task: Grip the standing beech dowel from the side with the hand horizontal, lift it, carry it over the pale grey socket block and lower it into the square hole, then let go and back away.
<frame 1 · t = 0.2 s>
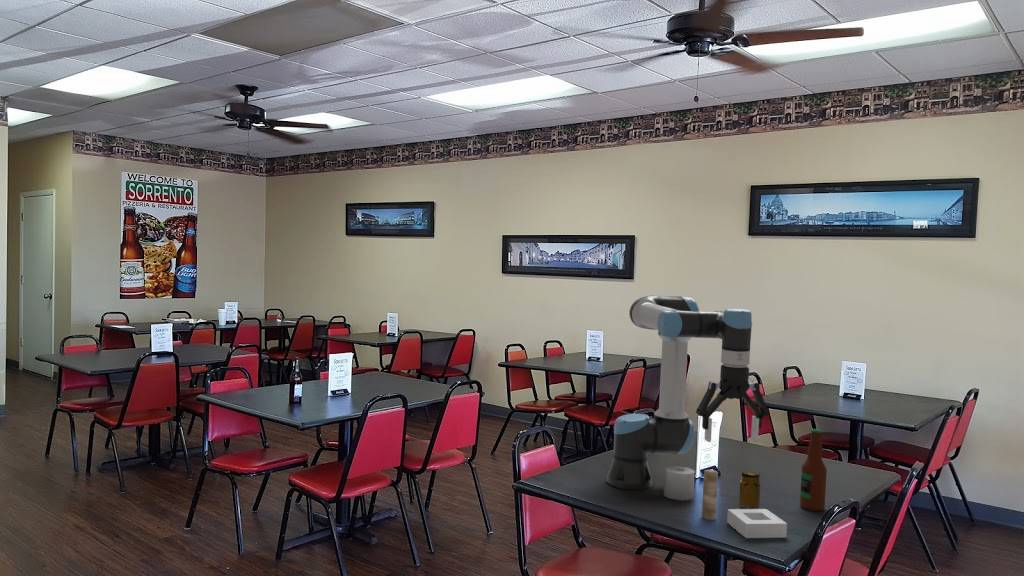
hand: (731, 440, 201), 27 cm above the table, tool pointing down, fingers open, 13 cm apart
dowel: (708, 518, 216), on the table
condiment: (751, 512, 224), on the table
toilet tissue: (678, 495, 238), on the table
bottle: (812, 508, 230), on the table
socket: (755, 529, 208), on the table
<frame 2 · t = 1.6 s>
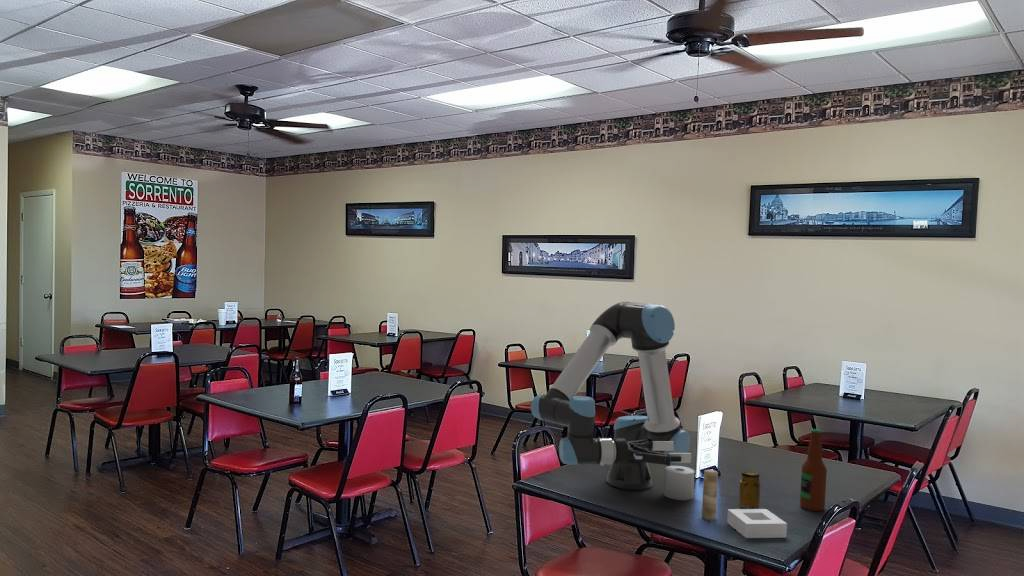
hand: (681, 451, 214), 20 cm above the table, tool horizontal, fingers open, 13 cm apart
nothing on the table moved.
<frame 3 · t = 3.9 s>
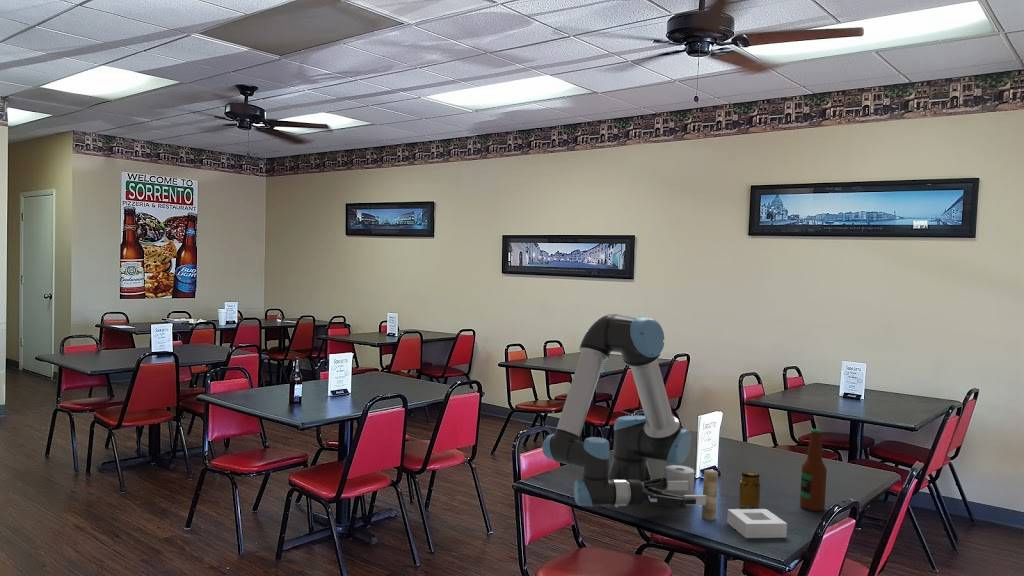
hand: (696, 492, 215), 8 cm above the table, tool horizontal, fingers open, 13 cm apart
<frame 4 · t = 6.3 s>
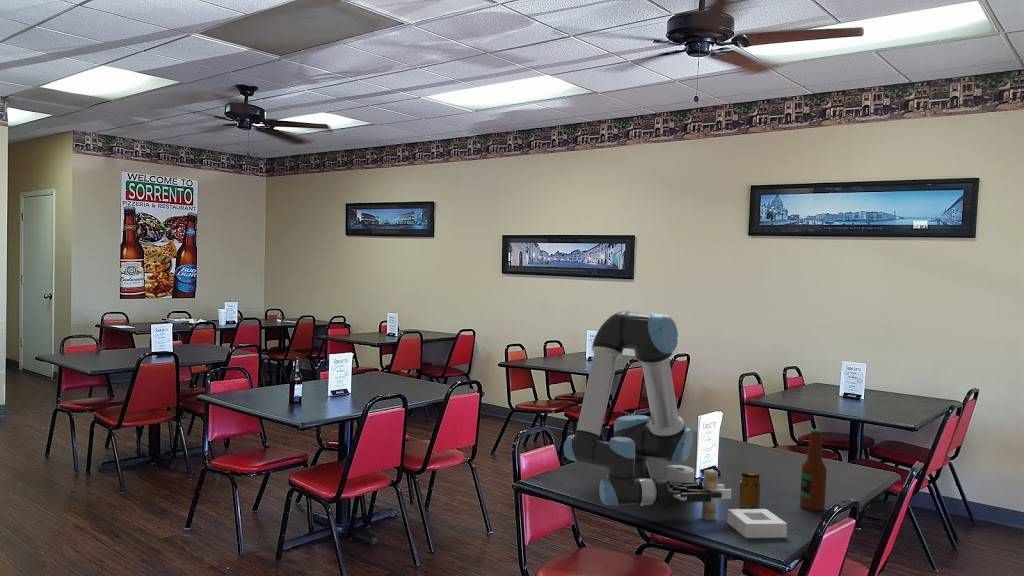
hand: (726, 491, 217), 8 cm above the table, tool horizontal, fingers closed on dowel, 4 cm apart
dowel: (708, 518, 216), on the table, touching gripper
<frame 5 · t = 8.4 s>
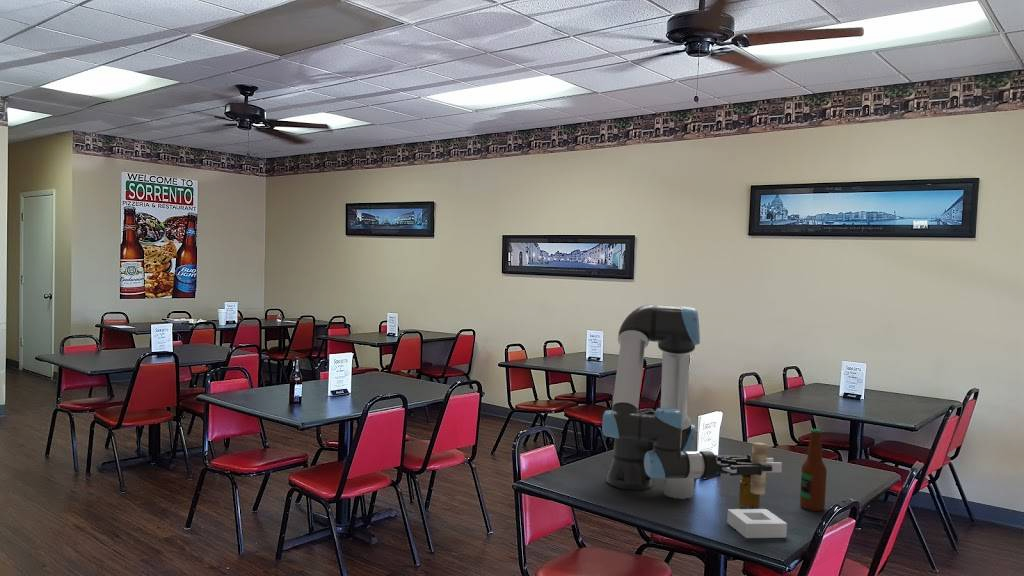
hand: (776, 465, 208), 19 cm above the table, tool horizontal, fingers closed on dowel, 4 cm apart
dowel: (757, 492, 207), point 11 cm above the table, touching gripper
when the fingers open (10 cm above the table, at t = 10.6 s): dowel drops 2 cm, resting in socket.
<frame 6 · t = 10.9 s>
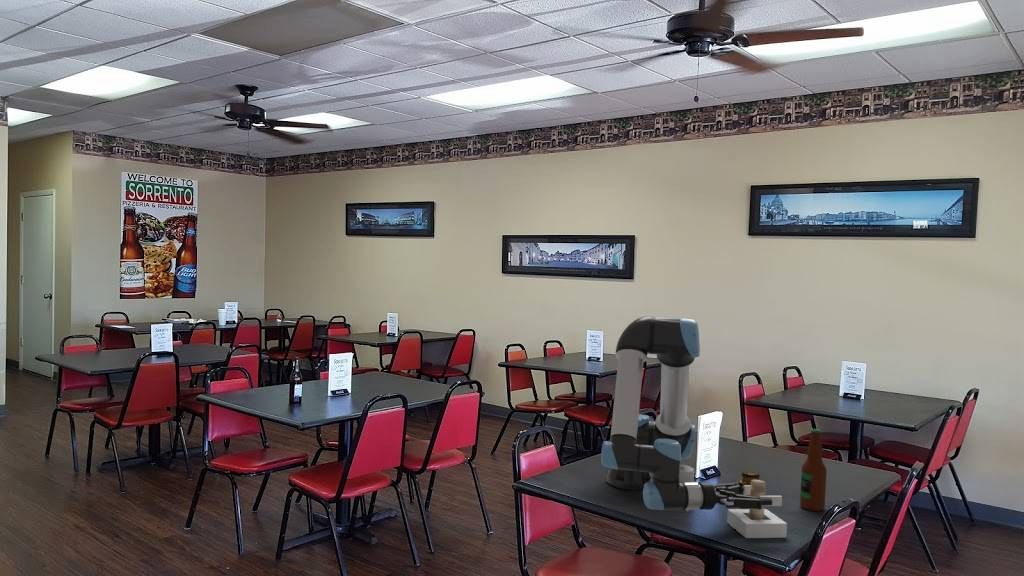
hand: (772, 495, 208), 10 cm above the table, tool horizontal, fingers open, 9 cm apart
dowel: (755, 530, 208), resting in socket
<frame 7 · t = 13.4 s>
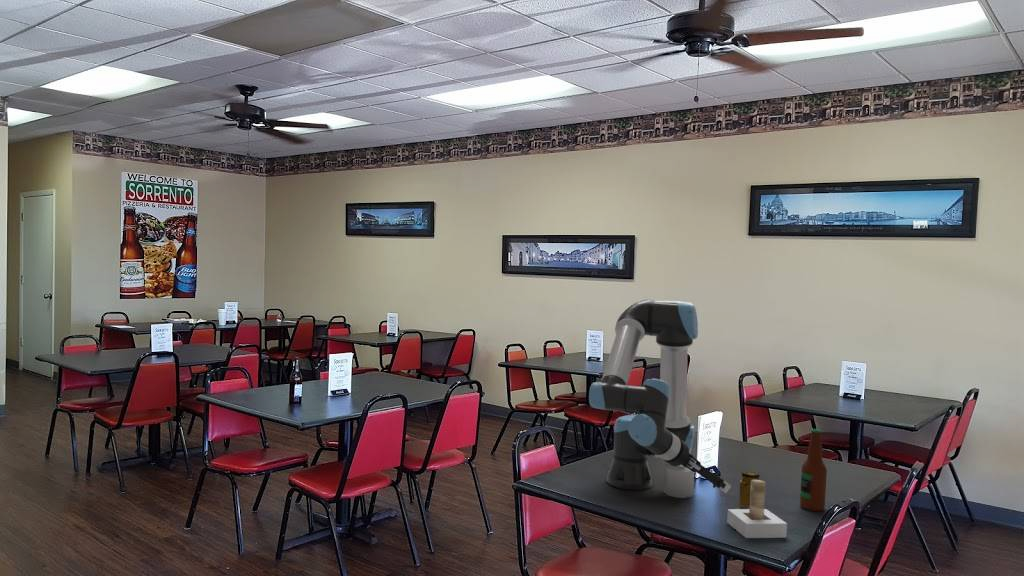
hand: (711, 477, 213), 13 cm above the table, tool tilted 60°, fingers open, 13 cm apart
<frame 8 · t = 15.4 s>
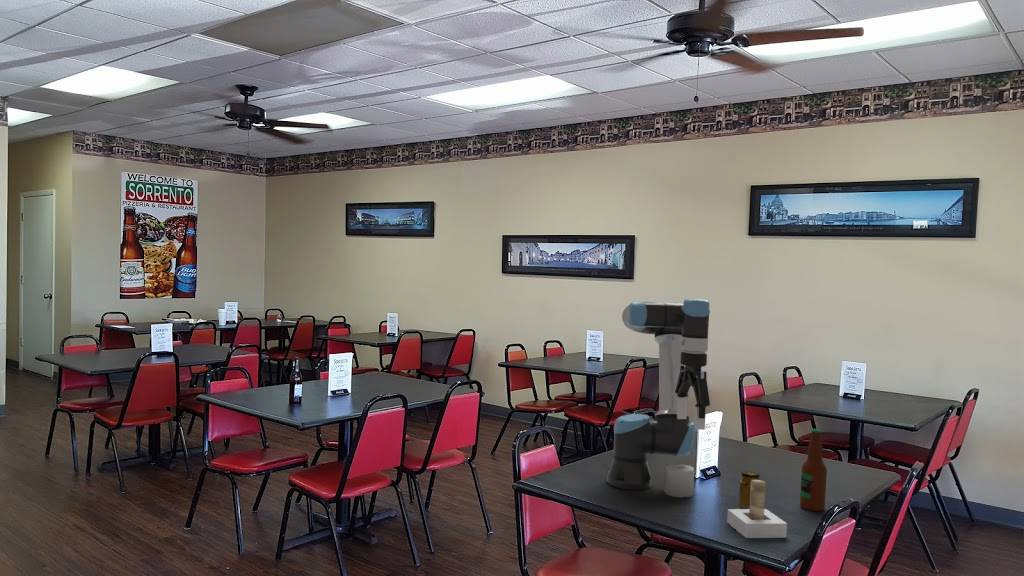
hand: (690, 424, 212), 29 cm above the table, tool pointing down, fingers open, 13 cm apart
at the end: dowel 0.1 cm off-centre on the socket, point 0.0 cm above the socket's base; dowel tilted 0°; the gripper is holding nothing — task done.
